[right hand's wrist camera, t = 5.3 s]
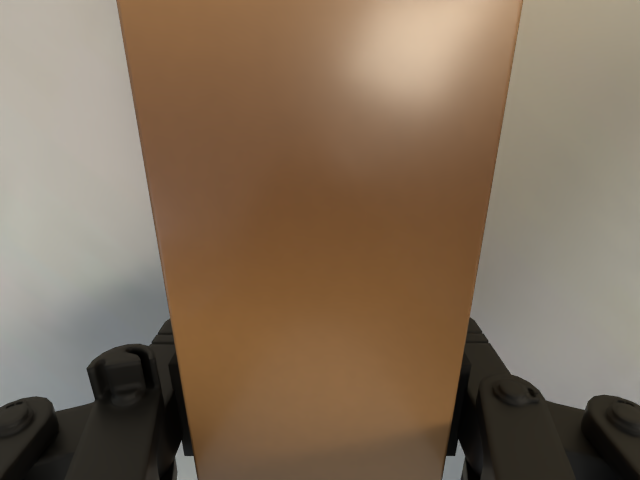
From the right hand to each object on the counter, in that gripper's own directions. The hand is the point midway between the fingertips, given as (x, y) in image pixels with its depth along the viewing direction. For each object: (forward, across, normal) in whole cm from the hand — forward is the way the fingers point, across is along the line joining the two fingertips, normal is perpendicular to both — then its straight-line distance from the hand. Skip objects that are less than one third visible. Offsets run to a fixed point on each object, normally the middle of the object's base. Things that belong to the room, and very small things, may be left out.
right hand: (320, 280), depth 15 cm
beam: (+1, 0, -24) cm, 24 cm away
